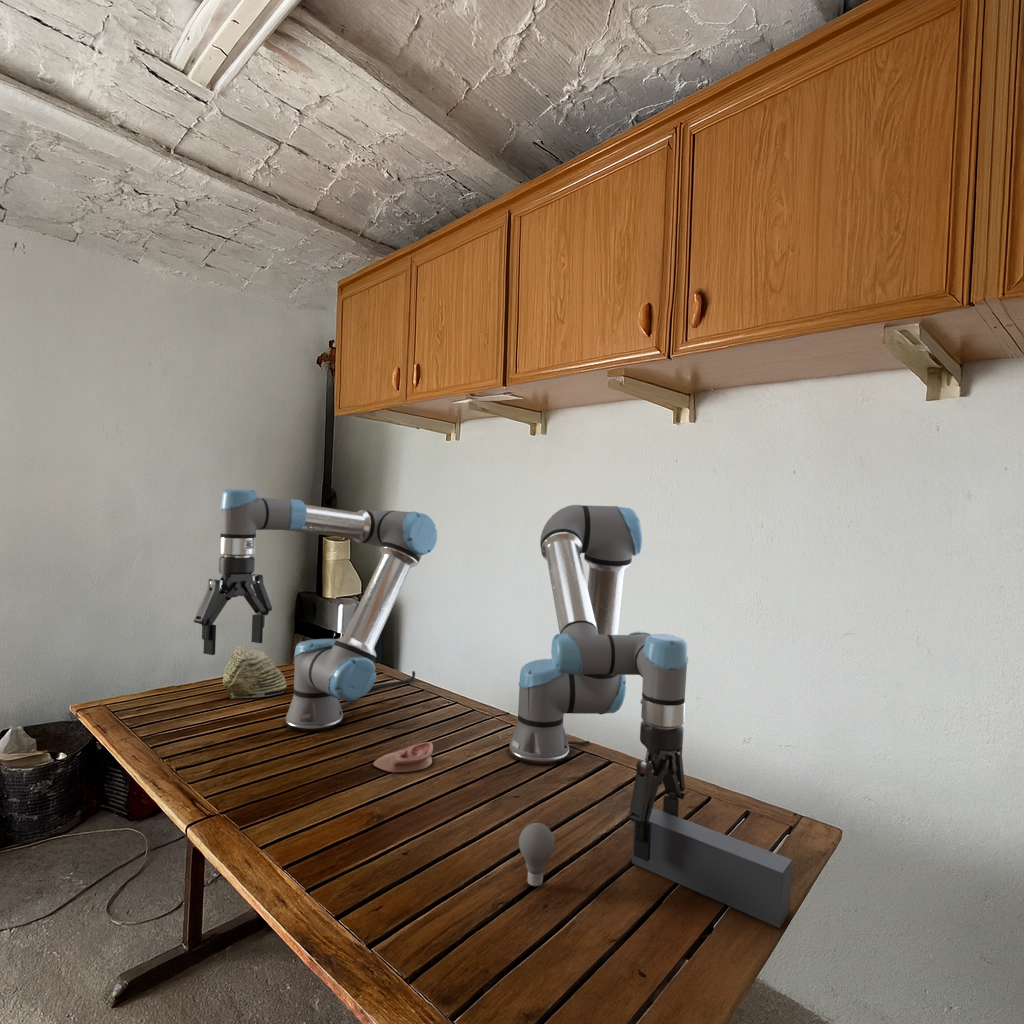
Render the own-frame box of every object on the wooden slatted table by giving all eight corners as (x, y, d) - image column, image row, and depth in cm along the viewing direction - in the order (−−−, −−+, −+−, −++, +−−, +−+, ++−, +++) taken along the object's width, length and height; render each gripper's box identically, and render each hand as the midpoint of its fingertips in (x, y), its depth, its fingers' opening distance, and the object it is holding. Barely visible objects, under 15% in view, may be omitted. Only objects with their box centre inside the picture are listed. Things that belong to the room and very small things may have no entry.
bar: (789, 912, 102) (792, 859, 102) (779, 928, 98) (782, 873, 98) (644, 851, 118) (647, 805, 118) (631, 863, 114) (633, 815, 114)
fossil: (218, 695, 195) (220, 647, 195) (278, 685, 208) (279, 640, 207) (228, 703, 189) (230, 653, 188) (289, 692, 201) (290, 645, 201)
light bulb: (515, 873, 109) (518, 816, 109) (550, 873, 109) (552, 816, 109) (518, 895, 103) (521, 834, 103) (555, 895, 104) (558, 834, 103)
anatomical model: (368, 752, 148) (387, 734, 159) (367, 769, 148) (386, 750, 159) (422, 759, 145) (438, 741, 156) (421, 776, 145) (437, 757, 156)
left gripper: (203, 561, 132) (199, 661, 133) (289, 553, 155) (286, 640, 156) (177, 558, 135) (174, 656, 136) (266, 551, 158) (263, 636, 159)
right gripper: (670, 703, 125) (664, 814, 125) (611, 733, 107) (605, 863, 107) (707, 712, 120) (701, 828, 120) (652, 746, 102) (645, 881, 102)
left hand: (234, 648), depth 146 cm, fingers open, 13 cm apart
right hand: (656, 844), depth 114 cm, fingers open, 10 cm apart
